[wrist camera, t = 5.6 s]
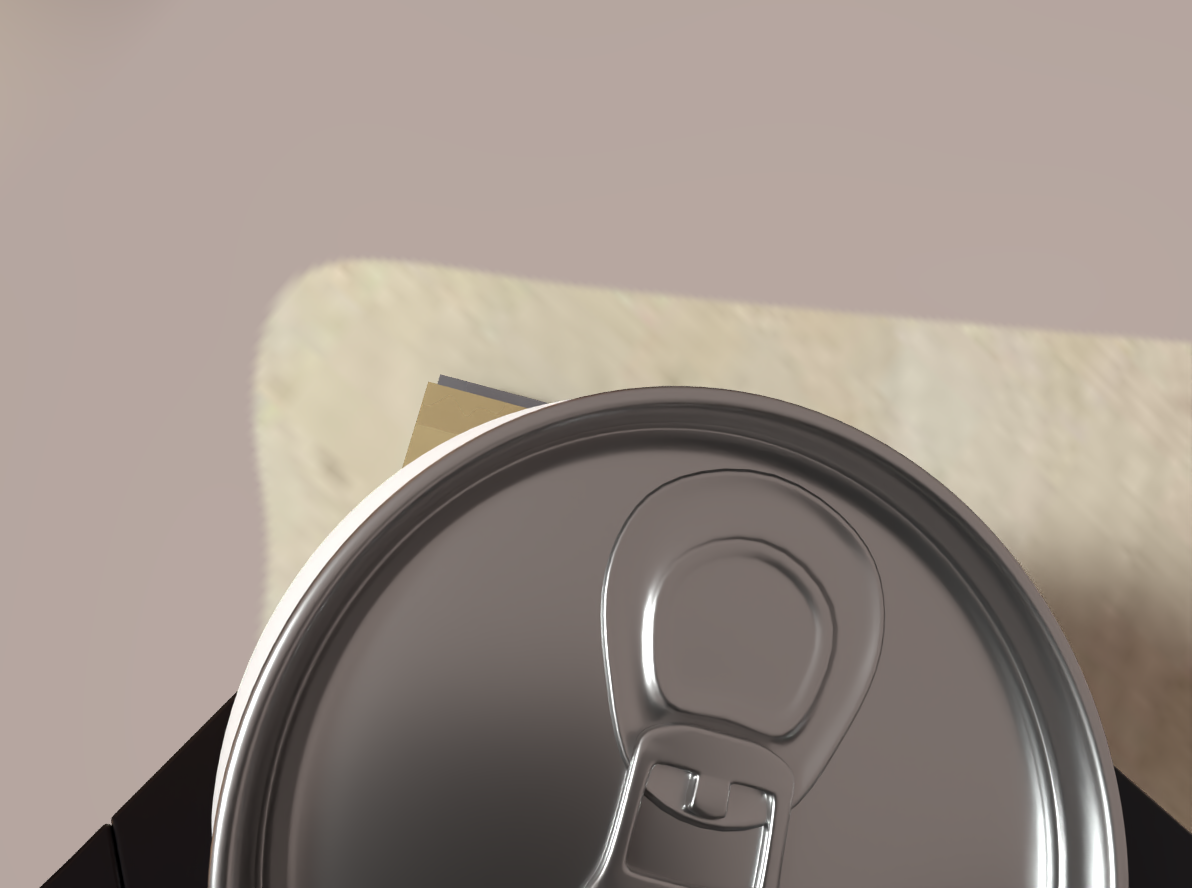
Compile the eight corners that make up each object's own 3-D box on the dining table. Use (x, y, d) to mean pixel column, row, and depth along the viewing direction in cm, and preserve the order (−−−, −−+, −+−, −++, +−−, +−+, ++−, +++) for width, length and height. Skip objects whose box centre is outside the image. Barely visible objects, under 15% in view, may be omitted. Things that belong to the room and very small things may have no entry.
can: (714, 582, 18) (1220, 478, 6) (641, 908, 16) (1157, 1641, 4) (420, 497, 17) (356, 196, 5) (311, 827, 15) (-130, 1432, 4)
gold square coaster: (721, 925, 20) (751, 978, 17) (316, 825, 19) (282, 863, 17) (812, 486, 22) (851, 473, 19) (446, 388, 21) (434, 361, 19)
